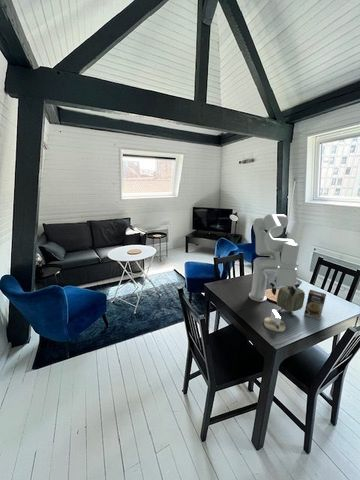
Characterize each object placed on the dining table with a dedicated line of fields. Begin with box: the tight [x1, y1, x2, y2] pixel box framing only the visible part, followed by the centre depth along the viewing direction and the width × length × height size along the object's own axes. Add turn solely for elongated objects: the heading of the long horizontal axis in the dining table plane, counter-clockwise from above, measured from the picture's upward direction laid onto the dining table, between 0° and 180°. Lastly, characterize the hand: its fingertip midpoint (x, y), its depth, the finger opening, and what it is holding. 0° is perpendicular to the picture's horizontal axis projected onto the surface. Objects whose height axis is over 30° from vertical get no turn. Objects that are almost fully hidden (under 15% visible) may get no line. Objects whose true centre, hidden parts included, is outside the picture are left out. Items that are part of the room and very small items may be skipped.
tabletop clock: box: [276, 281, 306, 316], centre depth 134 cm, size 14×9×25 cm, turn 113°
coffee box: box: [303, 289, 327, 321], centre depth 133 cm, size 9×6×16 cm
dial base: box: [263, 316, 287, 333], centre depth 125 cm, size 12×12×2 cm
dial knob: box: [270, 309, 282, 329], centre depth 123 cm, size 10×2×6 cm, turn 176°
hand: (282, 294), depth 114 cm, fingers open, 9 cm apart
